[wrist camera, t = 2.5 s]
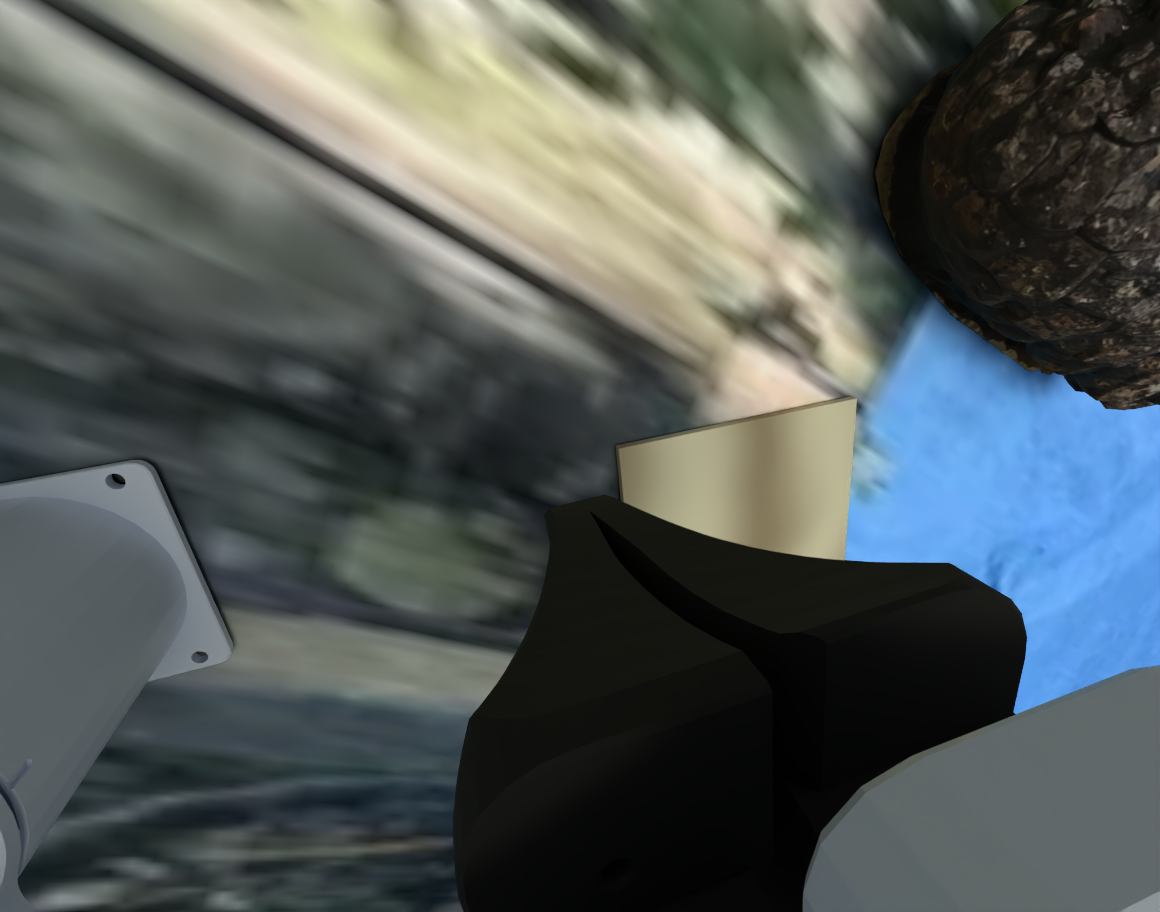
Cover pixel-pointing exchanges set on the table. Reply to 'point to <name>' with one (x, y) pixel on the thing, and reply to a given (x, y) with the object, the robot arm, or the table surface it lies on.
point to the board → (752, 479)
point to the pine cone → (1043, 192)
